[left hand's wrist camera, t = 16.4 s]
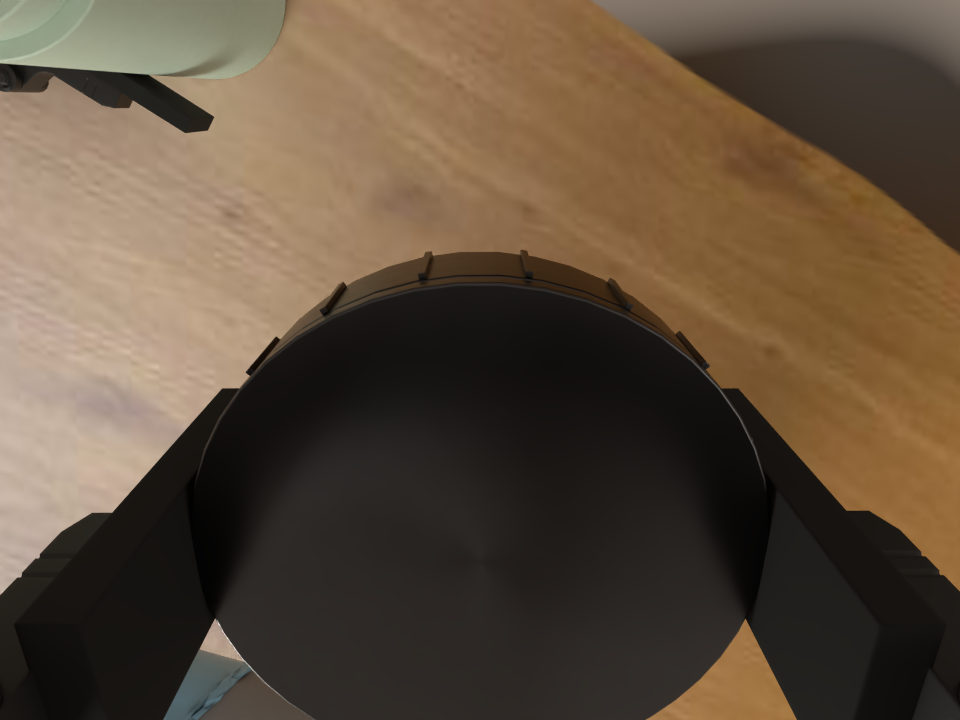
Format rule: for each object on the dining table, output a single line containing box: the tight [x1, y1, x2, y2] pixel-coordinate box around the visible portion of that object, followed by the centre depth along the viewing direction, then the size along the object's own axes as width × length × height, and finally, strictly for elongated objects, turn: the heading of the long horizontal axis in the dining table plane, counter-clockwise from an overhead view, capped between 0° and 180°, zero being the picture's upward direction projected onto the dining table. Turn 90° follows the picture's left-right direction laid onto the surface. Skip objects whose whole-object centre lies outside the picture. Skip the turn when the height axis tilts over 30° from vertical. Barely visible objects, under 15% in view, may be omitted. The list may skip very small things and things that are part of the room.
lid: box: [191, 250, 770, 720], centre depth 11 cm, size 9×9×2 cm
